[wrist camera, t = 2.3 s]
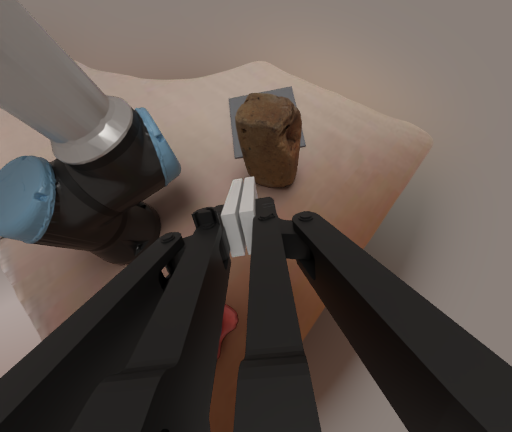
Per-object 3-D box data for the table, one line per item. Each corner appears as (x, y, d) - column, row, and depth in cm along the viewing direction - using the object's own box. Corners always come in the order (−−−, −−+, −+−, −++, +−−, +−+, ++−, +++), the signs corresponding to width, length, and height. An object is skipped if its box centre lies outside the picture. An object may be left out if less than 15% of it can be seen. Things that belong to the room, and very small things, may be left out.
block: (247, 182, 48) (226, 119, 30) (258, 156, 50) (245, 82, 31) (290, 195, 46) (297, 135, 27) (300, 167, 48) (313, 94, 29)
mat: (235, 158, 51) (234, 157, 50) (229, 99, 57) (228, 98, 57) (305, 146, 50) (305, 145, 49) (291, 87, 56) (291, 86, 56)
